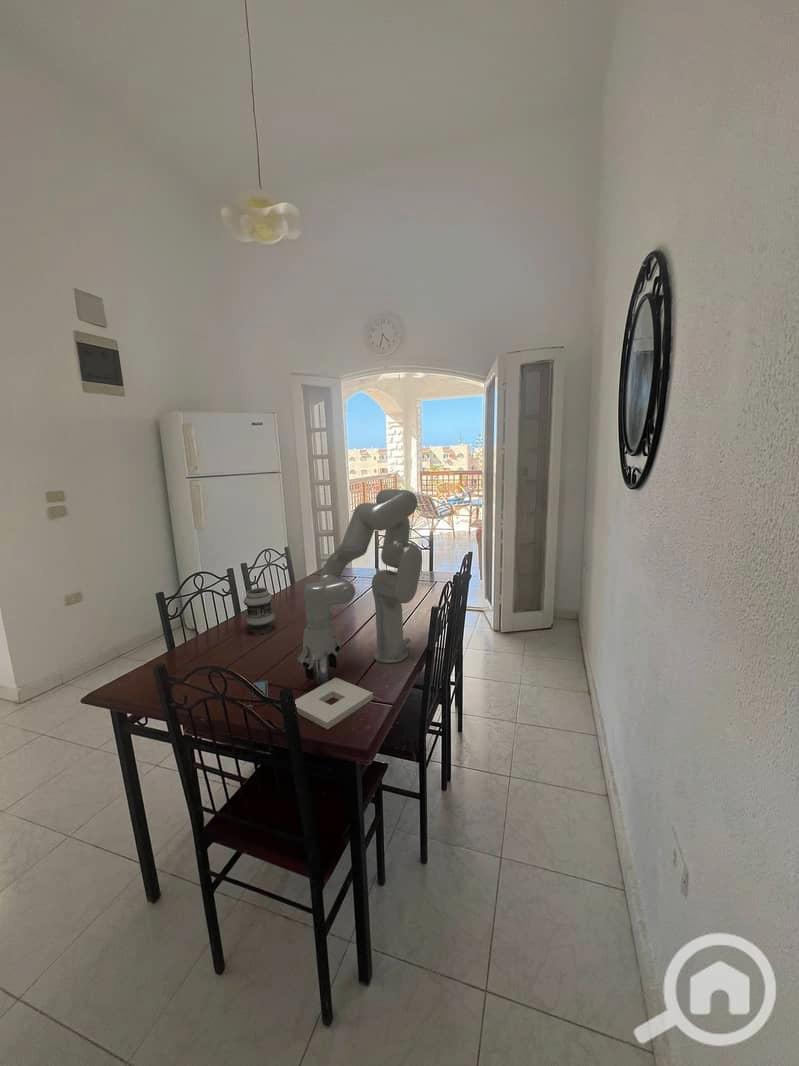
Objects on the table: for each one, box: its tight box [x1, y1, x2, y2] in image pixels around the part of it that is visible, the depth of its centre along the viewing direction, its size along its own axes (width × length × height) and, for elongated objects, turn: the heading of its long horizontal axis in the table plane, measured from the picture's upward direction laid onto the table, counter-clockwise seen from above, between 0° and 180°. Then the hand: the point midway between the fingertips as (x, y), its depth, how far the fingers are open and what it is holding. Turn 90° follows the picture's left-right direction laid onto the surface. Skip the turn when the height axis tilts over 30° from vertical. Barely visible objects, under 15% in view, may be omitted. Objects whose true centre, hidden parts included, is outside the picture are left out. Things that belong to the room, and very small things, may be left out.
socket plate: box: [294, 677, 374, 730], centre depth 125 cm, size 18×16×2 cm
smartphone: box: [248, 679, 269, 708], centre depth 133 cm, size 7×1×15 cm
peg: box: [315, 651, 329, 686], centre depth 137 cm, size 5×5×11 cm
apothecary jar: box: [243, 587, 276, 636], centre depth 182 cm, size 12×12×18 cm
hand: (321, 672), depth 138 cm, fingers open, 9 cm apart
